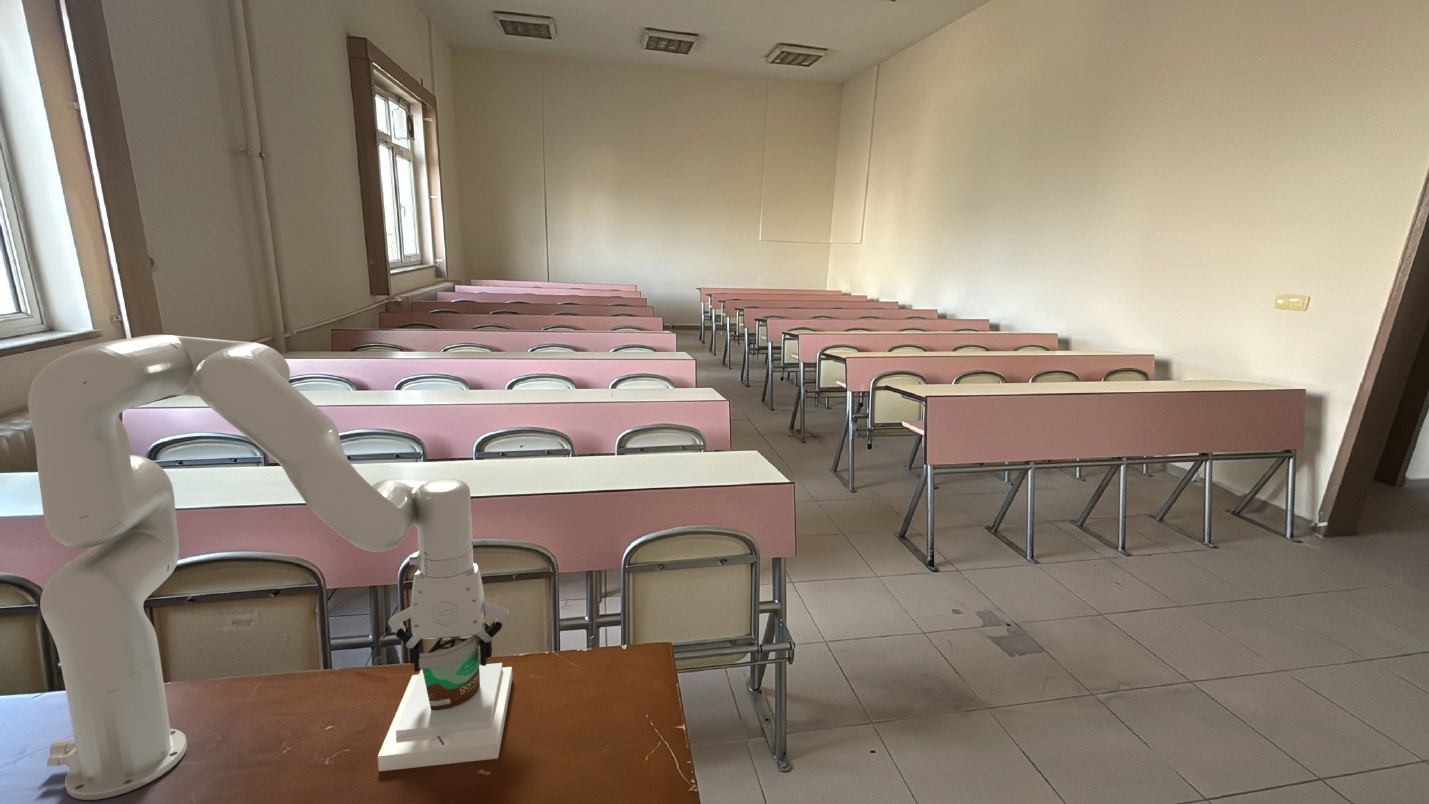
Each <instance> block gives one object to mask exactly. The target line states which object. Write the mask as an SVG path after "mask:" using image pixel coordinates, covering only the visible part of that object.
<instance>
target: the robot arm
mask: <svg viewBox="0 0 1429 804" xmlns="http://www.w3.org/2000/svg"><path fill="white" fill-rule="evenodd" d="M290 378H291V370H290V367H289V364H288V362H287V360H286V359H285V358H284V356H283V355H282V354H281V353H279V351H277V350H276V349H275V348H272V347H270V346H268V345H266V344H263V343H258V342H254V341H253V342H252V341H251V342H250V341H242V340H241V341H240V340H228V339H216V338H214V339H213V338H207V337H206V338H204V337H195V336H184V335H183V336H182V335H172V334H149V335H148V334H147V335H141V336H136V337H131V338H122V339H121V338H120V339H116V340H110V341H105V342H100V343H96V344H92V345H89V346H86V347H82V348H80V349H76V350H73V351H70V352H68V353H65V354H63V355H62V356H60V357H57V358H56V359H54V360H52V361H51V362H49V363H48V364H47V365H45V366H44V367H43V368H42V369H41V370H39V372H38V373H37V375H36V376H35V378H34V379H33V381H32V382H31V385H30V387H29V389H28V390H29V391H28V394H27V395H28V397H27V406H28V413H29V418H30V424H31V428H32V432H33V433H32V434H33V437H34V443H35V453H36V467H37V474H38V482H39V488H40V496H41V497H40V498H41V505H42V512H43V514H42V515H43V520H44V524H45V526H46V529H47V531H48V533H49V534H50V536H51V537H52V538H53V539H54V540H55V541H56V542H58V543H60V544H62V545H63V546H66V547H70V548H76V549H86V548H88V549H87V550H85V551H84V552H82V553H80V554H79V555H78V556H76V557H74V558H73V559H72V560H70V561H68V562H67V563H66V564H65V565H63V566H62V567H61V568H60V569H59V570H57V571H56V572H55V573H54V574H53V575H52V576H51V578H49V580H48V582H47V583H46V584H45V585H44V588H43V590H42V593H41V596H40V601H39V603H40V604H39V605H40V612H41V615H42V618H43V620H44V622H45V624H46V626H47V629H48V631H49V632H50V634H51V636H52V639H53V641H54V644H55V647H56V650H57V654H58V657H59V662H60V667H61V672H62V677H63V682H64V688H65V692H66V698H67V706H68V711H69V715H70V716H69V718H70V722H71V728H72V733H73V739H65V740H56V741H54V742H53V743H52V745H50V749H49V755H50V756H49V758H48V759H47V761H46V766H47V767H48V768H49V767H61V766H64V765H66V766H67V767H69V771H68V773H67V774H66V776H65V780H64V787H65V791H66V794H68V795H69V796H70V797H72V798H73V799H78V800H83V801H84V800H87V801H88V800H89V801H91V800H93V801H95V800H101V799H106V798H112V797H113V798H114V797H116V796H119V795H122V794H125V793H129V792H131V791H133V790H136V789H138V788H141V787H143V786H145V785H147V784H149V783H151V782H152V781H154V780H157V779H158V778H160V777H161V776H163V775H164V774H166V773H167V772H169V771H170V770H171V769H173V767H174V766H175V765H176V764H177V763H179V761H180V760H181V759H182V758H183V756H184V755H185V753H186V751H187V748H188V742H187V737H186V735H185V733H183V731H181V730H178V729H175V728H171V725H170V718H169V717H170V716H169V712H168V710H169V709H168V703H167V697H166V690H165V683H164V677H163V669H162V663H161V654H160V649H159V642H158V637H157V634H156V630H155V627H154V626H153V624H152V622H151V620H150V619H149V617H148V616H147V614H146V612H145V609H144V608H145V607H144V603H145V601H146V599H147V598H149V596H150V595H151V594H152V593H154V592H155V591H156V590H157V589H158V588H159V587H160V586H161V585H162V584H163V583H164V582H165V581H167V579H168V578H169V577H170V576H171V575H172V574H173V572H174V570H175V568H176V567H177V564H178V561H179V553H180V549H179V547H180V546H179V545H180V544H179V536H178V534H179V533H178V524H177V514H176V504H175V503H176V501H175V493H174V487H173V484H172V481H171V478H170V477H169V475H168V474H167V472H166V471H165V470H164V469H163V467H162V466H160V465H159V464H158V463H157V462H154V461H153V460H151V459H149V458H147V457H144V456H141V455H136V454H135V455H134V454H131V453H130V449H131V448H130V446H131V445H130V444H131V443H130V439H129V435H128V431H127V429H126V427H125V425H124V423H123V422H122V420H121V419H120V414H121V413H122V412H124V411H126V410H128V409H133V408H136V407H140V406H143V405H145V404H148V403H152V402H156V401H158V400H160V399H163V398H166V397H169V396H186V397H187V396H189V397H199V398H200V399H201V400H202V401H203V402H204V404H205V405H207V406H208V407H209V408H210V409H212V410H213V411H214V412H215V413H217V414H218V415H219V416H220V417H221V418H223V419H224V420H226V422H228V423H229V424H230V425H231V426H233V427H234V428H235V429H237V431H239V432H240V433H241V434H242V435H244V436H245V437H246V438H248V440H250V441H251V442H252V443H253V444H255V445H256V446H257V447H259V448H260V449H261V450H262V451H263V452H264V453H265V454H267V455H268V456H269V457H271V458H272V459H273V460H274V461H275V462H277V464H278V465H280V466H281V467H282V469H283V470H284V472H285V474H286V476H287V478H288V479H289V481H290V483H291V484H292V486H293V487H294V488H295V489H296V491H297V492H298V494H299V496H300V497H301V499H302V500H303V501H304V502H305V504H306V506H308V507H309V509H310V510H311V512H313V513H314V514H315V515H316V516H317V517H318V518H319V519H320V520H321V521H323V523H325V524H326V525H327V526H328V527H330V528H331V529H332V530H333V531H335V532H336V533H337V534H338V535H340V536H341V537H342V538H344V539H345V540H346V541H347V542H349V543H350V544H352V545H353V546H355V547H357V548H360V549H362V550H364V551H366V552H367V551H368V552H372V553H373V552H374V553H380V552H381V553H382V552H386V551H390V550H393V549H394V548H397V546H398V545H400V544H401V543H402V542H403V541H404V539H405V538H406V537H407V535H408V533H409V532H410V528H411V527H415V528H416V529H417V541H418V542H417V543H418V553H417V554H415V555H409V558H408V563H409V564H408V565H409V566H413V565H414V566H417V568H418V570H417V571H416V572H415V573H414V574H413V580H412V587H411V588H412V589H411V605H410V606H409V607H407V608H405V609H403V610H401V611H399V612H397V613H395V614H394V615H392V616H390V618H389V620H388V622H387V624H388V625H389V627H390V628H391V630H392V631H393V632H394V633H395V636H396V638H398V639H399V640H400V641H402V642H403V643H404V644H405V646H406V648H408V649H409V660H410V664H411V665H412V664H413V667H414V672H420V671H421V670H422V668H419V658H420V655H419V654H420V653H425V650H424V640H431V639H432V640H435V639H437V640H438V639H439V638H450V637H463V636H471V635H475V634H477V635H478V636H479V637H480V638H481V642H480V645H479V660H480V665H482V666H486V664H488V663H487V662H488V658H492V653H493V644H492V643H493V641H492V639H493V638H494V637H495V636H496V634H497V633H499V632H500V630H501V629H502V627H503V625H504V623H505V622H506V620H507V618H508V615H509V612H510V610H509V609H508V608H507V607H504V606H502V605H499V604H497V603H494V602H491V601H489V600H486V599H485V593H484V586H483V585H484V584H483V580H482V576H481V571H480V568H479V565H478V564H477V563H475V562H474V549H473V548H474V547H473V525H472V524H473V523H472V522H473V520H472V499H471V498H472V497H471V489H470V487H469V485H468V484H467V483H466V482H464V481H463V480H461V479H456V478H455V479H453V478H441V479H434V480H430V481H424V480H410V479H400V478H388V479H383V480H380V481H378V482H376V483H374V484H373V485H372V484H370V483H369V482H368V481H367V480H366V479H365V478H364V477H363V476H362V475H361V474H360V473H359V472H358V471H357V469H356V468H355V467H354V466H353V464H352V463H351V462H350V460H349V459H348V457H347V455H346V452H345V451H344V448H343V446H342V441H341V437H340V433H339V431H338V428H337V426H336V424H335V422H334V421H333V419H331V418H330V417H329V416H328V415H327V414H326V413H325V412H323V411H322V410H321V408H319V407H318V406H317V405H316V404H314V403H313V402H312V401H311V400H309V398H307V397H306V396H305V395H303V393H301V392H300V391H299V390H298V389H297V388H296V387H295V386H293V384H291V383H290V380H291V379H290ZM486 613H487V614H490V615H492V616H494V617H496V619H495V620H494V621H492V623H491V624H490V623H489V622H488V621H486V619H485V618H486ZM409 619H410V621H411V622H410V626H411V629H410V628H409V627H408V626H406V625H404V622H405V621H407V620H409Z"/></svg>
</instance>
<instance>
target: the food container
mask: <svg viewBox="0 0 1429 804" xmlns="http://www.w3.org/2000/svg"><path fill="white" fill-rule="evenodd" d="M480 642H481V638H480V637H479V636H478V635H477V634H475V635H471V636H463V637H450V638H438V639H437V641H436V643H435V644H434V645H433V646H432V647H431V648H430V649H429V650H428V652H424V653H420V654H419V655H420V658H419V668H421V670H423V675H424V679H425V684H426V689H427V694H428V698H429V703H430V708H431V710H441V709H447V708H451V707H454V706H457V705H460V704H461V703H463V702H465V701H467V700H469V699H470V698H471V697H472V696H474V695H475V694H476V692H477V691H478V689H479V687H480V672H479V665H480Z"/></svg>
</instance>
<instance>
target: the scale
mask: <svg viewBox="0 0 1429 804" xmlns="http://www.w3.org/2000/svg"><path fill="white" fill-rule="evenodd" d="M479 672H480V687H479V689H478V691H477V692H476V694H475V695H474V696H472V697H471V698H470V699H469V700H467V701H465V702H463V703H461V704H460V705H457V706H454V707H451V708H447V709H441V710H431V708H430V703H429V698H428V694H427V689H426V684H425V679H424V675H423V670H422V669H420V670H419V673H418V674H411V677H410V680H409V682H408V684H407V687H406V689H405V691H404V694H403V697H402V699H401V700H400V704H399V705H398V708H397V710H396V713H395V715H394V717H393V719H392V722H391V724H390V726H389V730H388V731H387V734H386V737H385V738H384V741H383V743H382V745H381V748H380V749H379V752H378V755H377V764H378V765H377V766H378V772H387V771H395V770H403V769H404V770H405V769H414V768H422V767H430V766H431V767H432V766H440V765H451V764H460V763H467V762H476V761H486V760H497V759H499V755H500V750H501V745H502V744H501V743H502V738H503V733H504V727H505V723H506V716H507V710H508V705H509V700H510V694H511V689H512V688H511V687H512V684H513V683H512V682H513V667H512V666H505V667H503V662H498V663H497V662H496V663H486V666H482V665H481V664H479Z"/></svg>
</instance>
